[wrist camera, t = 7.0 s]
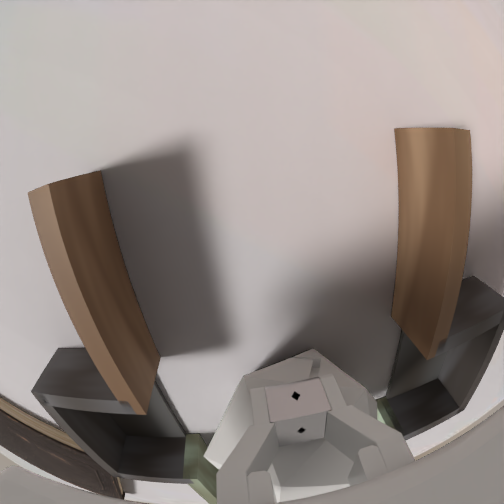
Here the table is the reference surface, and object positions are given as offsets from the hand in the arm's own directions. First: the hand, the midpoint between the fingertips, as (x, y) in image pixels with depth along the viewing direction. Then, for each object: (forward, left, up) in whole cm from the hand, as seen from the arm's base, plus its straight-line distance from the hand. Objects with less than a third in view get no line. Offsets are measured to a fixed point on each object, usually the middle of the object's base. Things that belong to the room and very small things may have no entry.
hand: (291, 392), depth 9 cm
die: (0, +5, -5) cm, 7 cm away
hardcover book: (+29, +15, -6) cm, 33 cm away
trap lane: (0, +6, -5) cm, 8 cm away
